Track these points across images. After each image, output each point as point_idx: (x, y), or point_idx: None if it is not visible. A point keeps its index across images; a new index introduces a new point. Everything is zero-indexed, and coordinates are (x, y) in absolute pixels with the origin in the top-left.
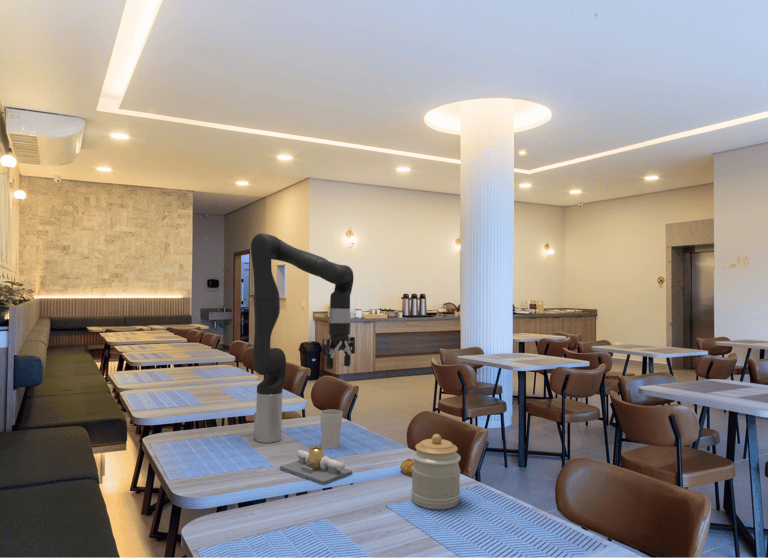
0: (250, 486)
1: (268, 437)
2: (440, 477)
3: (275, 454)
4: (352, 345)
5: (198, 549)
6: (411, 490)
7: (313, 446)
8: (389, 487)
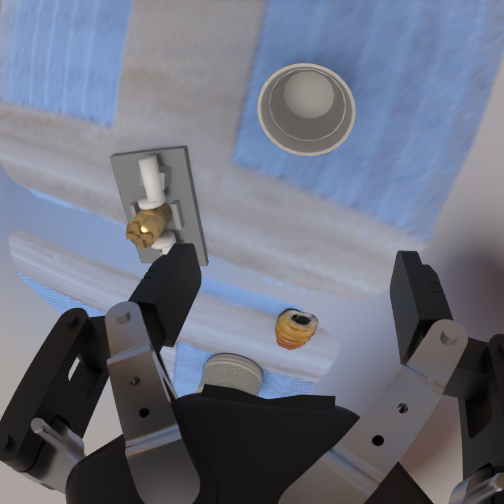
0: (58, 189)
1: None
2: None
3: (149, 58)
4: (465, 460)
5: (17, 272)
6: (210, 363)
7: (134, 230)
8: (219, 325)
